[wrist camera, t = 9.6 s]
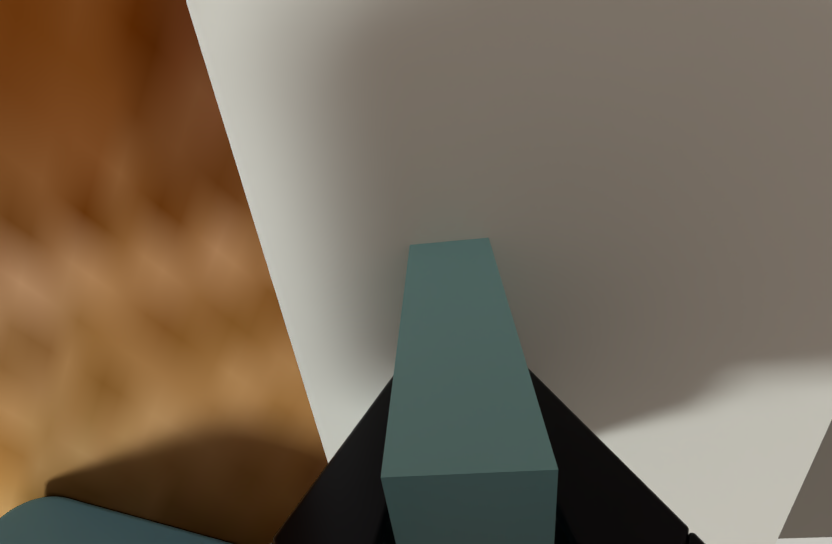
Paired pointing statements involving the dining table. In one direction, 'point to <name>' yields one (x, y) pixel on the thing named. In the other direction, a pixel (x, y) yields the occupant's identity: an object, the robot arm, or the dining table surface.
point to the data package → (86, 526)
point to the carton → (813, 502)
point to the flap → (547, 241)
